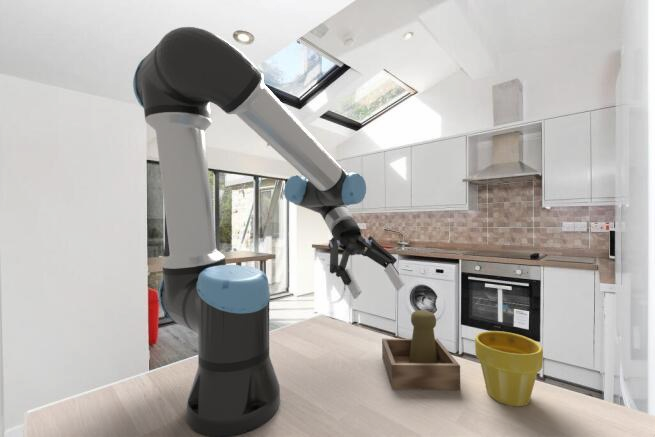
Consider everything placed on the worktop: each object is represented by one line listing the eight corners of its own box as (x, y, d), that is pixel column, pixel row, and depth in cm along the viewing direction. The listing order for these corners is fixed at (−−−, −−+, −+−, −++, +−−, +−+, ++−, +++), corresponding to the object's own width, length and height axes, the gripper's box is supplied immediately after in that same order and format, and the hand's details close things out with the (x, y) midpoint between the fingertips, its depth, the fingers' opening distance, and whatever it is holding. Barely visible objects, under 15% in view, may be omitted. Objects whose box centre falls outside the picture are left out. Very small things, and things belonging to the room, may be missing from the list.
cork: (411, 354, 69) (411, 306, 69) (439, 359, 66) (439, 309, 66) (406, 366, 63) (406, 313, 63) (437, 372, 61) (436, 317, 61)
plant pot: (542, 423, 47) (541, 359, 47) (470, 399, 53) (469, 343, 53) (544, 392, 55) (543, 338, 55) (481, 375, 61) (481, 326, 61)
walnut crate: (392, 389, 56) (391, 364, 56) (382, 358, 69) (382, 338, 69) (460, 389, 56) (460, 365, 56) (438, 358, 68) (437, 338, 69)
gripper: (371, 234, 93) (408, 293, 80) (298, 237, 80) (330, 308, 67) (382, 217, 89) (424, 276, 76) (308, 217, 75) (344, 288, 62)
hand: (380, 291), depth 71 cm, fingers open, 13 cm apart
